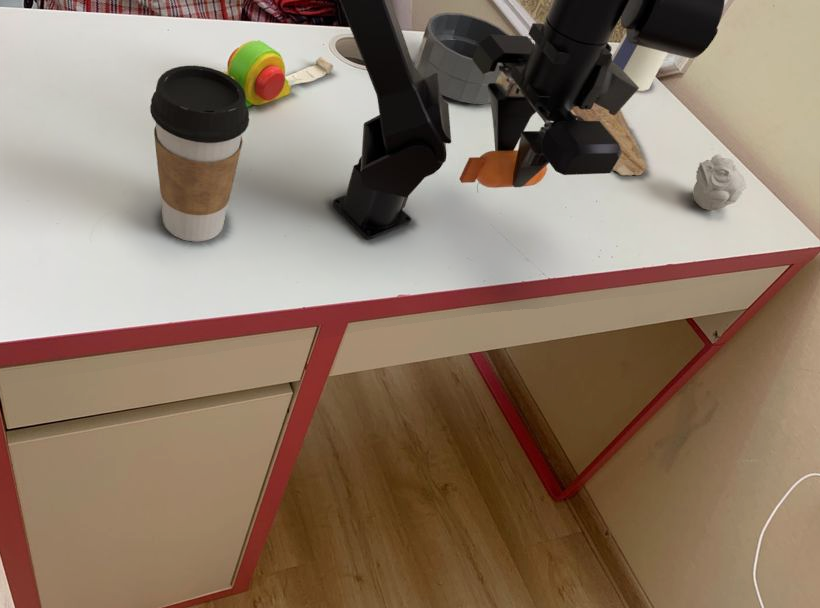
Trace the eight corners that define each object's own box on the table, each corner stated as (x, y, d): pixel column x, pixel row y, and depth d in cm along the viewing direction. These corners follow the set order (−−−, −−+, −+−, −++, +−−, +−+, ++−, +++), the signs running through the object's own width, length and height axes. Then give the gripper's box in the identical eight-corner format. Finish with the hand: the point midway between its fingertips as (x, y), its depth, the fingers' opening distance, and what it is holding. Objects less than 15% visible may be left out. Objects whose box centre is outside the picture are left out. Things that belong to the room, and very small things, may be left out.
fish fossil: (669, 175, 97) (674, 168, 96) (608, 181, 94) (612, 174, 93) (580, 67, 111) (583, 60, 110) (524, 69, 108) (527, 63, 107)
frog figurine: (671, 185, 96) (702, 142, 90) (718, 196, 96) (751, 154, 91) (682, 214, 92) (715, 170, 86) (731, 225, 93) (766, 182, 87)
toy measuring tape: (197, 96, 84) (200, 44, 79) (310, 58, 96) (319, 10, 91) (233, 124, 82) (239, 72, 77) (344, 81, 94) (355, 34, 89)
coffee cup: (154, 252, 67) (156, 114, 55) (145, 194, 71) (144, 55, 60) (243, 249, 70) (261, 117, 58) (228, 193, 74) (242, 61, 63)
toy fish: (465, 196, 71) (479, 168, 68) (452, 171, 72) (464, 143, 70) (542, 192, 74) (558, 166, 71) (528, 169, 76) (543, 142, 73)
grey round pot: (457, 115, 95) (474, 71, 90) (395, 64, 100) (408, 19, 95) (518, 97, 102) (537, 54, 97) (457, 50, 107) (472, 7, 102)
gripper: (711, 90, 59) (617, 231, 71) (597, -19, 69) (532, 120, 81) (604, 89, 55) (524, 238, 66) (500, -27, 65) (447, 120, 77)
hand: (508, 174), depth 73 cm, fingers closed on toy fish, 3 cm apart
